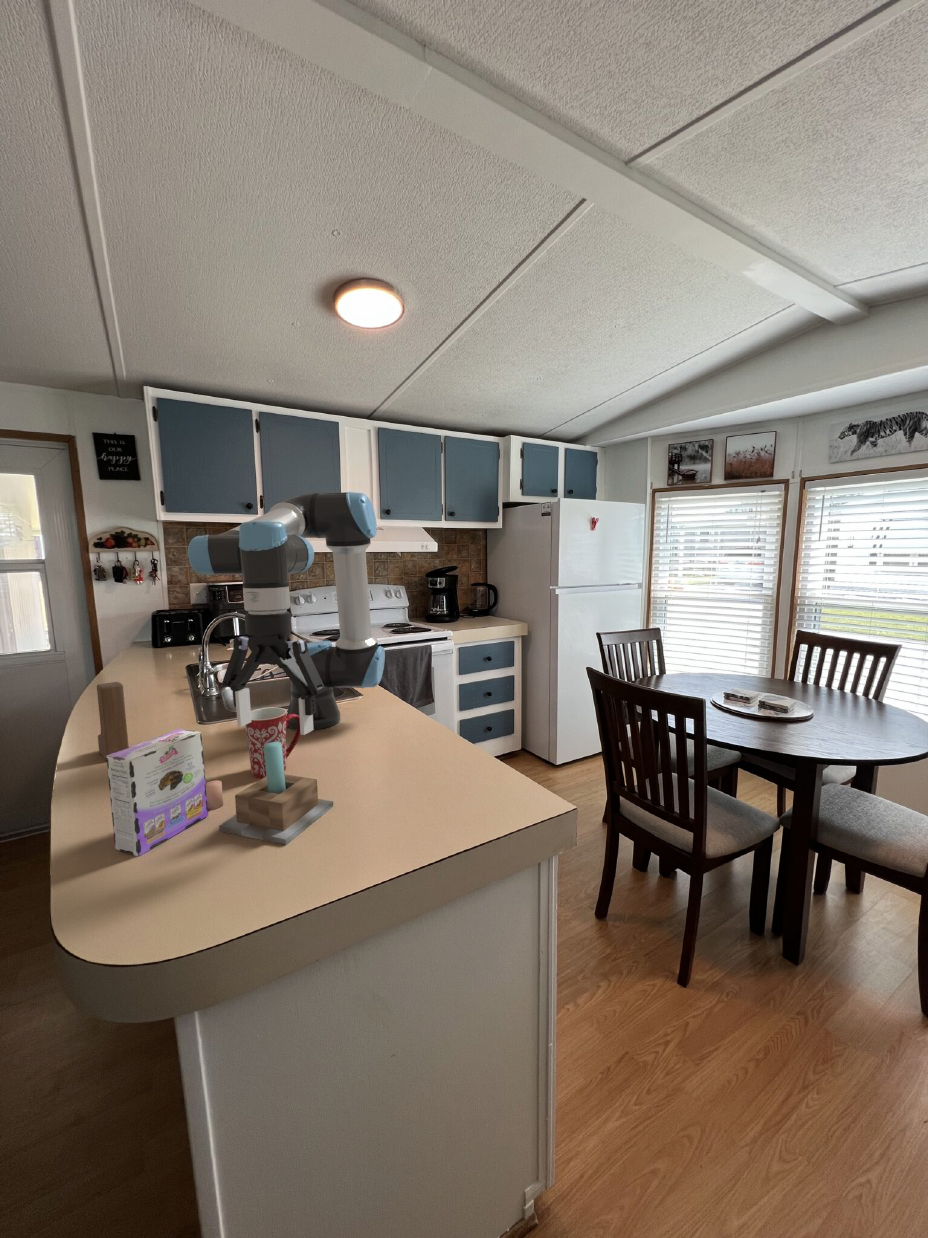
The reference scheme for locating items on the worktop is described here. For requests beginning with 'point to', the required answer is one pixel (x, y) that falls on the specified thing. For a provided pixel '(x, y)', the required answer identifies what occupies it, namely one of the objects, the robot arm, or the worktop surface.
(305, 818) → the square wooden frame
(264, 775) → the mug
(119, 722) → the wooden block
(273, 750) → the long pin
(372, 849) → the worktop surface
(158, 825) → the candy box
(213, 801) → the light brown oval shape
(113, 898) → the worktop surface
